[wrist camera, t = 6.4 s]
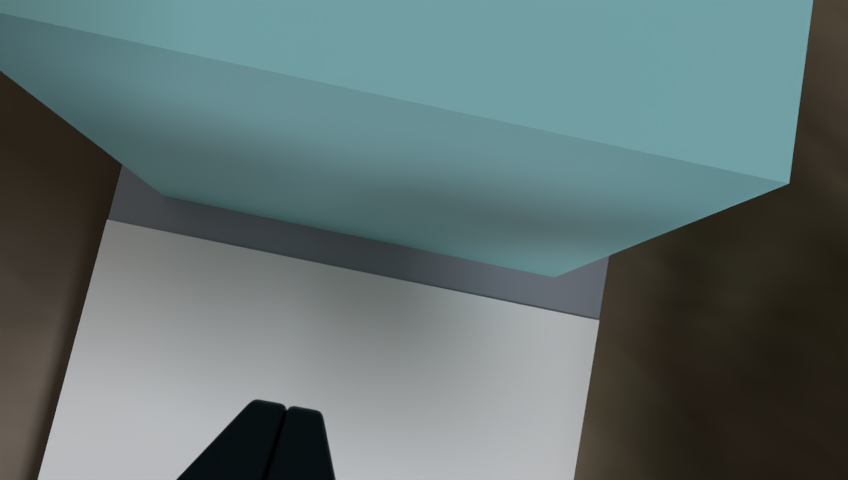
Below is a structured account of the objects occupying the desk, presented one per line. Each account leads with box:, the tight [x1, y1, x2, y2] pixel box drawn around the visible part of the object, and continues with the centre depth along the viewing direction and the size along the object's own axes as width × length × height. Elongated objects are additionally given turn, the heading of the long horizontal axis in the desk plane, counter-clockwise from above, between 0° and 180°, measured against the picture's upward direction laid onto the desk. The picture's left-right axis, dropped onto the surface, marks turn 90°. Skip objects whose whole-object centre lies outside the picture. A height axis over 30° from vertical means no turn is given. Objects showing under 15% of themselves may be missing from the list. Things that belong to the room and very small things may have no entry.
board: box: [38, 165, 609, 480], centre depth 16 cm, size 17×10×1 cm, turn 169°
